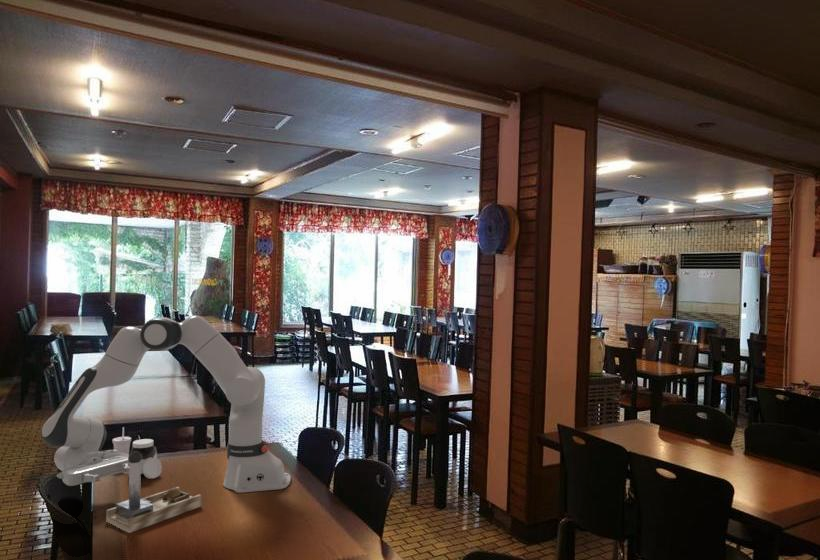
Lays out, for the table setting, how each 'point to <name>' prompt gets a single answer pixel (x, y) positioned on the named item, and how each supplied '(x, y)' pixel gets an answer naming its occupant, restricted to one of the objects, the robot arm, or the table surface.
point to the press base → (155, 511)
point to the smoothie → (122, 444)
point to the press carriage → (134, 491)
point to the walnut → (173, 494)
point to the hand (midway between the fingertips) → (112, 474)
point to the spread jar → (147, 458)
